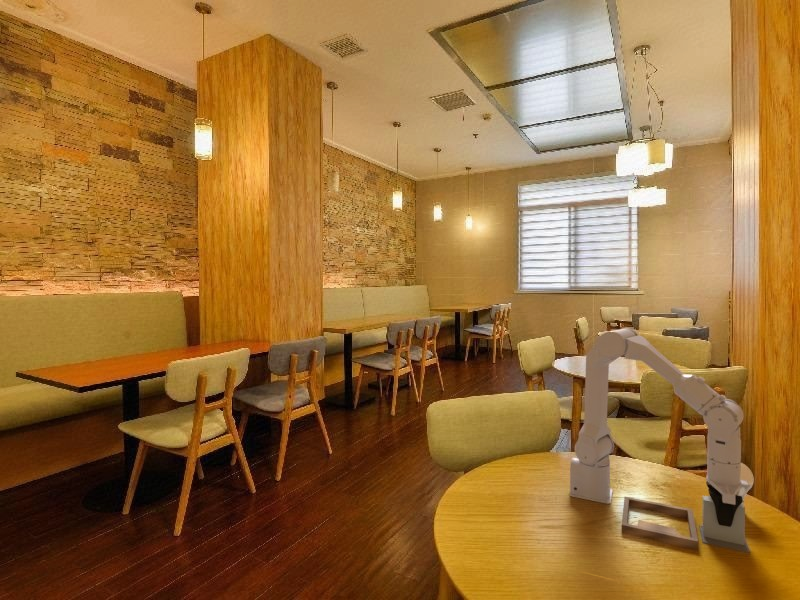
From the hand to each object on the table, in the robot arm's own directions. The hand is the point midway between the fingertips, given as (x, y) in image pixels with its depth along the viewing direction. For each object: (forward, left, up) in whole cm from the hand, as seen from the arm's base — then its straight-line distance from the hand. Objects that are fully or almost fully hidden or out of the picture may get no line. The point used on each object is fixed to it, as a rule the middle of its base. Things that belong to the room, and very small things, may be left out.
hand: (723, 521), depth 94 cm
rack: (-12, 0, -4) cm, 13 cm away
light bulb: (+4, +15, -4) cm, 16 cm away
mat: (0, 0, -4) cm, 4 cm away
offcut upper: (-12, -4, -4) cm, 13 cm away
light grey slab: (0, 0, -4) cm, 4 cm away
